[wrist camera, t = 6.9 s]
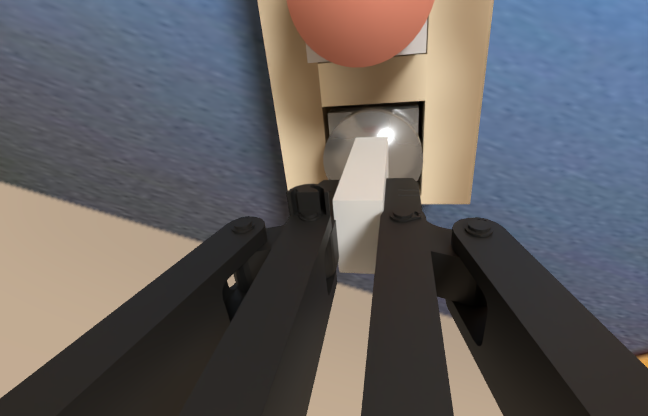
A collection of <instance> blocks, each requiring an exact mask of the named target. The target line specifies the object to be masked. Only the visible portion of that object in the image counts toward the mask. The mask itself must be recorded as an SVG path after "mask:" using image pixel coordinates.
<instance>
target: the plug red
mask: <svg viewBox="0 0 648 416" xmlns="http://www.w3.org/2000/svg"><path fill="white" fill-rule="evenodd" d="M434 1H435V0H287V5H288V9H289V12H290V16H291V18H292V21H293V23H294V25H295V27H296V29H297V31H298V33H299V34H300V36H301V37H302V39H303V40H304V41H305V43H306V51H307V61H308V63H316V62H327V61H330V62H332V63H334V64H337V65H341V66H345V67H353V68H354V67H368V66H373V65H376V64H379V63H382V62H384V61H386V60H389V59H390V58H392V57H394V56H395V55H405V54H416V53H426V40H427V18H428V16H429V14H430V12H431V10H432V7H433V4H434Z"/></svg>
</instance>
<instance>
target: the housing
mask: <svg viewBox="0 0 648 416" xmlns="http://www.w3.org/2000/svg"><path fill="white" fill-rule="evenodd" d="M257 1H258V7H259V14H260V20H261V26H262V32H263V39H264V45H265V51H266V57H267V63H268V70H269V76H270V82H271V88H272V95H273V101H274V107H275V113H276V120H277V126H278V132H279V138H280V144H281V151H282V157H283V163H284V169H285V176H286V182H287V188H288V190H290V189H291V188H293V187H295V186H299V185H303V184H318V183H320V182H321V181H323V180H328V178H327V176H326V173H325V170H324V164H323V155H324V149H325V145H326V143H327V140H328V138H329V137H330V135H329V124H328V112H329V111H330V110H331V109H332V107H333V106H345V105H361V104H377V103H394V102H410V101H419V119H418V136H419V139H420V142H421V147H422V153H423V167H422V171H421V174H420V177H419V179H418V181H417V182H418V183H419V191H420V198H421V204H470V199H471V190H472V182H473V173H474V165H475V156H476V148H477V139H478V131H479V122H480V114H481V105H482V97H483V88H484V80H485V71H486V62H487V54H488V45H489V37H490V28H491V20H492V11H493V3H494V0H435V1H434V4H433V7H432V10H431V12H430V14H429V16H428V18H427V40H426V53H416V54H405V55H395V56H394V57H392V58H390V59H389V60H386V61H384V62H382V63H379V64H376V65H373V66H368V67H354V68H353V67H345V66H341V65H337V64H334V63H332V62H330V61H327V62H316V63H308V61H307V51H306V43H305V41H304V40H303V39H302V37H301V36H300V34H299V33H298V31H297V29H296V27H295V25H294V23H293V21H292V18H291V16H290V12H289V9H288V5H287V0H257Z"/></svg>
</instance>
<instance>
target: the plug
mask: <svg viewBox="0 0 648 416" xmlns="http://www.w3.org/2000/svg"><path fill="white" fill-rule="evenodd" d="M418 119H419V107H418V103H417V101H410V102H394V103H377V104H361V105H345V106H333V107H332V109H331V110H330V111H329V112H328V124H329V135H330V137H329V138H328V140H327V143H326V145H325V149H324V155H323V164H324V170H325V173H326V176H327V178H328V180H340V179H341V176H342V174H343V171H344V168H345V166H346V163H347V160H348V157H349V155H350V152H351V149H352V147H353V144H354V141H355V139H356V138H360V137H385V136H388V178H413V179H414V180H415V181H418V179H419V177H420V174H421V171H422V167H423V153H422V147H421V142H420V139H419V136H418Z"/></svg>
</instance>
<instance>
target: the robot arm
mask: <svg viewBox="0 0 648 416" xmlns="http://www.w3.org/2000/svg"><path fill="white" fill-rule="evenodd" d="M286 194H287V200H288V206H289V212H290V217H289V219H288V220H287V222H286V224H285V225H283V226H278V227H272V228H265V223H264V221H263V220H262V219H261V218H257V217H249V216H248V217H241V218H239V219H236V220H233V221H231V222H230V223H228V224H226V225H225V226H224V227H223V228H221V229H220V230H219V231H217V232H216V233H215V234H213V235H212V236H211V237H210V238H208V239H207V240H206V241H204V242H203V243H202V244H200V245H199V246H198V247H197V248H195V249H194V250H193V251H191V252H190V253H189V254H187V255H186V256H185V257H184V258H182V259H181V260H180V261H178V262H177V263H176V264H175V265H173V266H172V267H171V268H169V269H168V270H167V271H165V272H164V273H163V274H161V275H160V276H159V277H158V278H156V279H155V280H154V281H153V282H151V283H150V284H148V285H147V286H146V287H145V288H143V289H142V290H141V291H139V292H138V293H137V294H135V295H134V296H133V297H132V298H130V299H129V300H128V301H126V302H125V303H124V304H122V305H121V306H120V307H119V308H117V309H116V310H115V311H114V312H112V313H111V314H109V315H108V316H107V317H106V318H104V319H103V320H102V321H100V322H99V323H98V324H96V325H95V326H94V327H93V328H91V329H90V330H89V331H87V332H86V333H85V334H84V335H82V336H81V337H80V338H78V339H77V340H76V341H75V342H73V343H72V344H71V345H69V346H68V347H67V348H65V349H64V350H63V351H61V352H60V353H59V354H58V355H56V356H55V357H54V358H52V359H51V360H50V361H48V362H47V363H46V364H45V365H44V366H42V367H41V368H39V369H38V370H37V371H36V372H34V373H33V374H32V375H30V376H29V377H28V378H26V379H25V380H24V381H22V382H21V383H20V384H19V385H17V386H16V387H15V388H13V389H12V390H11V391H9V392H8V393H7V394H6V395H4V396H3V397H2V398H0V416H306V414H307V410H308V406H309V402H310V397H311V393H312V388H313V384H314V380H315V376H316V371H317V367H318V362H319V358H320V353H321V349H322V345H323V341H324V336H325V332H326V328H327V324H328V319H329V315H330V311H331V306H332V302H333V298H334V293H335V289H336V285H337V275H336V268H337V264H339V272H344V273H366V274H375V276H374V286H373V297H372V307H371V317H370V328H369V339H368V349H367V360H366V369H365V380H364V391H363V400H362V411H361V416H454V415H453V407H452V400H451V393H450V386H449V379H448V371H447V365H446V357H445V350H444V343H443V336H442V329H441V322H440V315H439V307H438V300H437V296H438V297H441V298H444V299H446V304H447V307H448V309H449V311H450V313H451V315H452V317H453V319H454V321H455V323H456V325H457V327H458V329H459V331H460V333H461V335H462V336H463V338H464V340H465V342H466V344H467V346H468V348H469V350H470V352H471V354H472V356H473V357H474V360H475V362H476V363H477V365H478V367H479V369H480V371H481V373H482V375H483V377H484V379H485V381H486V383H487V385H488V387H489V389H490V390H491V393H492V394H493V396H494V398H495V400H496V402H497V404H498V406H499V408H500V410H501V412H502V414H503V416H648V368H647V367H646V366H645V365H644V364H643V363H642V362H641V361H640V360H639V359H638V358H637V357H636V356H634V355H633V354H632V353H631V352H630V351H629V350H628V349H627V348H626V347H625V346H624V345H623V344H622V343H621V342H620V341H619V340H618V339H617V338H616V337H615V336H614V335H613V334H612V333H611V332H610V331H609V330H608V329H607V328H606V327H605V326H604V325H603V324H602V323H601V322H600V321H599V320H598V319H597V318H596V317H595V316H594V315H593V314H592V313H591V312H589V311H588V310H587V309H586V308H585V307H584V306H583V305H582V304H581V303H580V302H579V301H578V300H577V299H576V298H575V297H574V296H573V295H572V294H571V293H570V292H569V291H568V290H567V289H566V288H565V287H564V286H563V285H562V284H561V283H560V282H559V281H558V280H557V279H556V278H555V277H554V276H553V275H552V274H551V273H550V272H549V271H548V270H547V269H546V268H545V267H543V266H542V265H541V264H540V263H539V262H538V261H537V260H536V259H535V258H534V257H533V256H532V255H531V254H530V253H529V252H528V251H527V250H526V249H525V248H524V247H523V246H522V245H521V244H520V243H519V242H518V241H517V240H516V239H515V238H514V237H513V236H512V235H511V234H510V233H509V232H508V231H507V230H506V229H505V228H504V227H502V226H501V225H499V224H498V223H496V222H493V221H491V220H488V219H484V218H477V217H476V218H466V219H461V220H459V221H457V222H455V223H454V225H453V227H452V230H451V229H446V228H442V227H438V226H435V225H433V224H431V223H429V222H428V221H426V216H425V215H424V213H423V212H422V206H421V198H420V191H419V183H418V182H417V181H415V180H414V179H413V178H388V136H385V137H360V138H356V139H355V141H354V144H353V147H352V149H351V152H350V155H349V157H348V160H347V163H346V166H345V168H344V171H343V174H342V176H341V179H340V180H323V181H321V182H320V183H318V184H303V185H299V186H295V187H293V188H291V189H290V190H288V191H287V192H286ZM232 274H234V277H235V281H236V283H235V284H234V285H233V286H232V287H230V288H229V286H228V283H227V280H228V278H229V277H230V276H231V275H232Z"/></svg>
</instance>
